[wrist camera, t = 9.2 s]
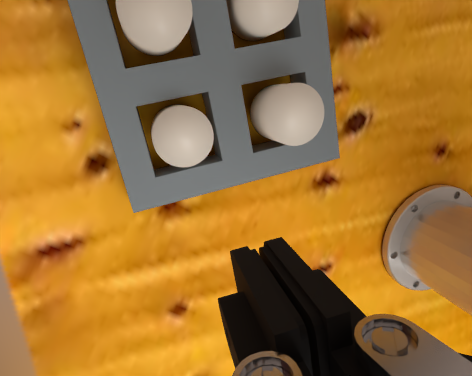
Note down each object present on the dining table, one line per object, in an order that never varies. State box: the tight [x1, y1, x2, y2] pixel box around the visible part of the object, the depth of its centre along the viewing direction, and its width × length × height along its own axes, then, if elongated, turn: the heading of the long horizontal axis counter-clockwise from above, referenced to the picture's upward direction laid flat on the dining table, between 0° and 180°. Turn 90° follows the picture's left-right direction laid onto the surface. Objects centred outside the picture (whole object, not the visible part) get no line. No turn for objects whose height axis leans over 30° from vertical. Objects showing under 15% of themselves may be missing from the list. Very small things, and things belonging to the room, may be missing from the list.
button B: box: [250, 83, 324, 146], centre depth 26 cm, size 4×4×4 cm
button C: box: [116, 0, 193, 56], centre depth 21 cm, size 4×4×4 cm
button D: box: [151, 104, 214, 167], centre depth 26 cm, size 4×4×4 cm
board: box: [68, 0, 340, 213], centre depth 26 cm, size 18×18×3 cm
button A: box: [226, 0, 299, 41], centre depth 25 cm, size 4×4×4 cm
